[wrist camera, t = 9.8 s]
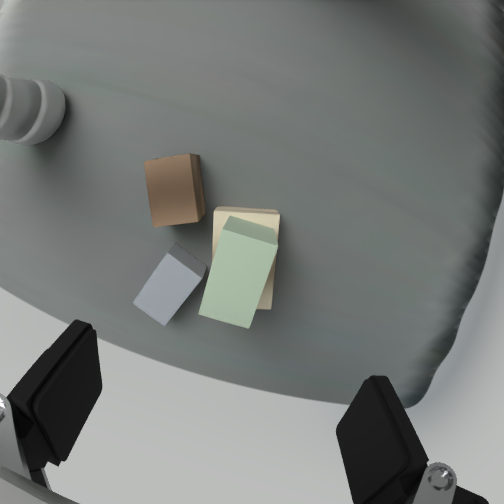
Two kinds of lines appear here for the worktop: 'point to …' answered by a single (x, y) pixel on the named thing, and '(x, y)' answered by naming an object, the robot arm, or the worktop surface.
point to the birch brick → (257, 216)
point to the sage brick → (239, 271)
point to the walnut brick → (175, 190)
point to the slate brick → (170, 284)
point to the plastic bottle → (29, 109)
